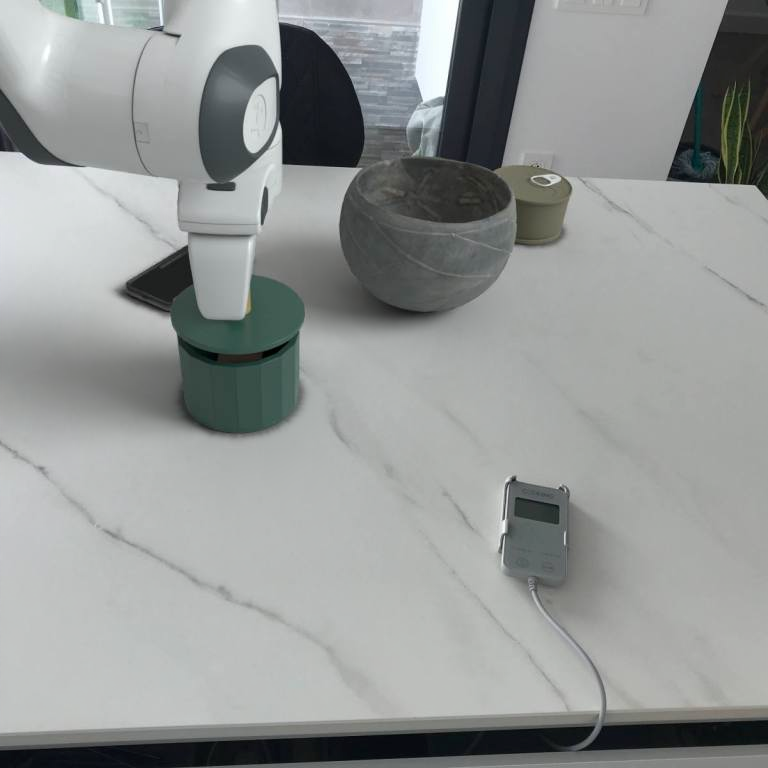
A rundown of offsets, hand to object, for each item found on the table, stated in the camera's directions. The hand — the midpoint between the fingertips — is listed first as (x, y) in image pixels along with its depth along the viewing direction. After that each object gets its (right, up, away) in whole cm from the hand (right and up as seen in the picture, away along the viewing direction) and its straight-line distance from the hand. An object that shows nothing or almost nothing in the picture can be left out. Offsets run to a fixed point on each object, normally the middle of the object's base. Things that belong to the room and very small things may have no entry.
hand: (237, 303), depth 74 cm
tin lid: (0, -1, +1) cm, 1 cm away
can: (+35, +16, +42) cm, 56 cm away
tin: (-1, -9, +8) cm, 12 cm away
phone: (-11, +6, +24) cm, 27 cm away
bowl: (+19, +4, +25) cm, 31 cm away
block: (-1, -9, +7) cm, 11 cm away
